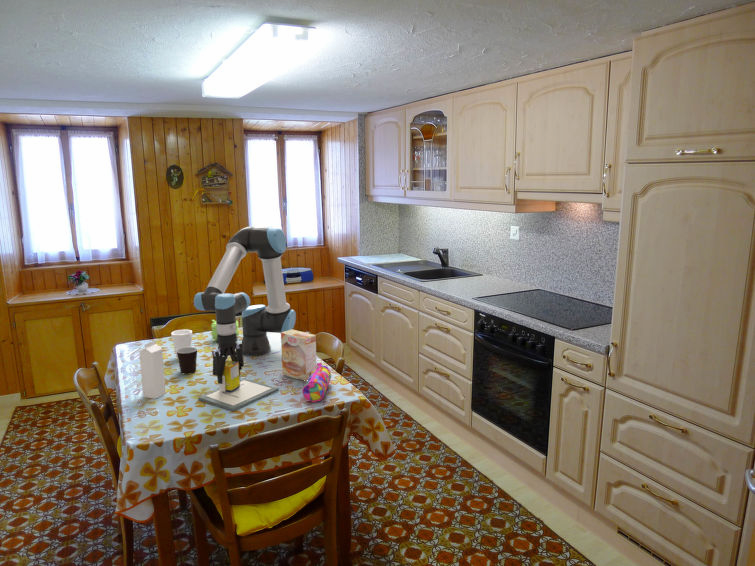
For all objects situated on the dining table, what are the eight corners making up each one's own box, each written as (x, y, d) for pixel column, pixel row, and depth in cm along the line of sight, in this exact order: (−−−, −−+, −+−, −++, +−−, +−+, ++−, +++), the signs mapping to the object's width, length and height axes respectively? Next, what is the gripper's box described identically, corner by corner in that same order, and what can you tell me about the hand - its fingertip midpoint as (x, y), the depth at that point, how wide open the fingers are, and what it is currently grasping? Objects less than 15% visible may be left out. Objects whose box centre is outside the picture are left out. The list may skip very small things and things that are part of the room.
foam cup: (168, 359, 252) (166, 333, 250) (182, 354, 261) (180, 328, 258) (184, 362, 249) (182, 335, 246) (198, 356, 257) (196, 330, 255)
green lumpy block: (212, 344, 276) (211, 323, 274) (210, 337, 289) (209, 317, 287) (241, 341, 281) (240, 321, 279) (238, 334, 294) (237, 315, 292)
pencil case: (309, 382, 224) (309, 362, 222) (331, 382, 224) (331, 362, 222) (301, 403, 203) (301, 381, 201) (326, 404, 202) (325, 381, 201)
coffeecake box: (281, 374, 233) (280, 332, 229) (293, 370, 238) (292, 328, 235) (305, 382, 224) (304, 338, 220) (317, 377, 229) (316, 334, 226)
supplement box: (228, 385, 216) (226, 359, 214) (240, 387, 214) (239, 361, 212) (219, 390, 211) (217, 364, 209) (231, 392, 209) (230, 366, 207)
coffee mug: (192, 375, 232) (190, 353, 230) (174, 374, 233) (172, 352, 231) (205, 366, 243) (204, 345, 241) (188, 365, 245) (187, 344, 243)
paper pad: (244, 380, 226) (244, 377, 226) (278, 390, 215) (278, 387, 215) (198, 399, 206) (198, 396, 206) (233, 411, 195) (232, 408, 195)
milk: (143, 397, 208) (137, 343, 204) (153, 391, 214) (149, 339, 210) (155, 399, 207) (150, 345, 202) (166, 393, 212) (161, 340, 208)
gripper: (213, 340, 198) (216, 397, 202) (251, 328, 214) (254, 382, 219) (200, 337, 202) (203, 393, 207) (239, 325, 218) (241, 378, 223)
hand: (229, 387), depth 213 cm, fingers closed on supplement box, 7 cm apart
